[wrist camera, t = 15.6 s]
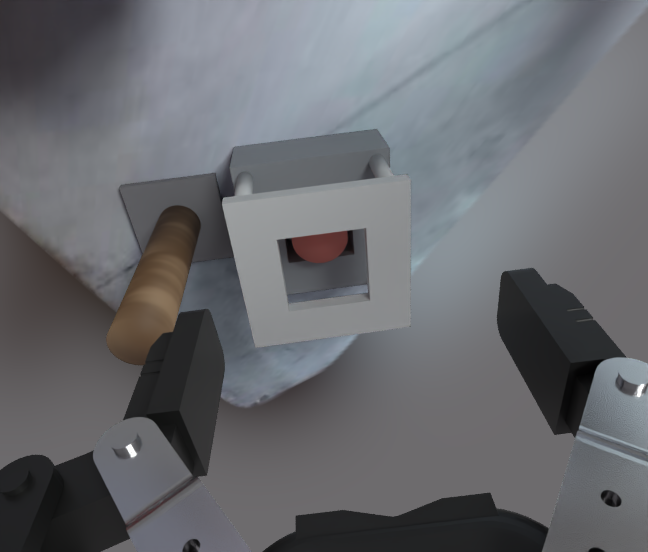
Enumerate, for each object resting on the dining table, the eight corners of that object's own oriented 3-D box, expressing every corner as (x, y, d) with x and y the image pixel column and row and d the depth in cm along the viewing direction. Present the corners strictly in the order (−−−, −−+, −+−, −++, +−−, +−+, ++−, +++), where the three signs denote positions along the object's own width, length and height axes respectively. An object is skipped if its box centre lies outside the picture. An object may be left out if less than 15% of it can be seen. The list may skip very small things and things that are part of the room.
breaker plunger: (338, 184, 40) (345, 209, 36) (341, 230, 43) (349, 259, 39) (286, 191, 40) (288, 217, 36) (293, 237, 43) (295, 266, 39)
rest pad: (215, 173, 41) (214, 175, 40) (234, 253, 45) (233, 256, 44) (120, 185, 40) (119, 187, 40) (149, 264, 45) (147, 268, 44)
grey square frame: (377, 129, 40) (410, 179, 30) (381, 252, 46) (410, 326, 37) (233, 147, 40) (221, 204, 30) (258, 268, 46) (255, 347, 36)
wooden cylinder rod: (195, 202, 41) (159, 315, 28) (204, 239, 43) (175, 361, 30) (153, 208, 41) (97, 323, 28) (165, 244, 43) (118, 368, 30)
